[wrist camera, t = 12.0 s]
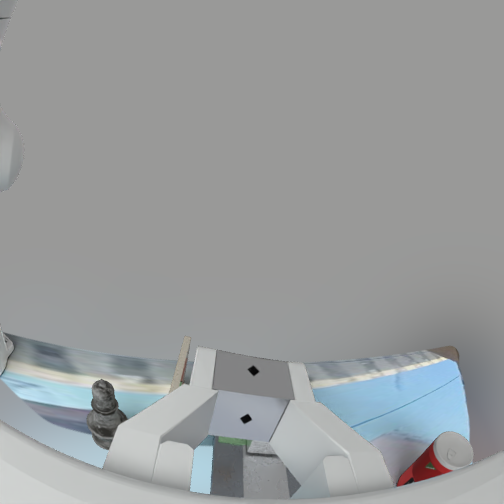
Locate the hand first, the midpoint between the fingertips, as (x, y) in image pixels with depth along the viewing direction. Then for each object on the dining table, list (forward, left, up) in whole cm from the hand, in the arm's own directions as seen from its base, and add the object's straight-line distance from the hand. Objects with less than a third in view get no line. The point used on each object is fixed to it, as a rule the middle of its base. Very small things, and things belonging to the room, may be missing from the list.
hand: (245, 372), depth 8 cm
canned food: (+25, +25, -32) cm, 48 cm away
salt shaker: (-19, +8, -32) cm, 38 cm away
